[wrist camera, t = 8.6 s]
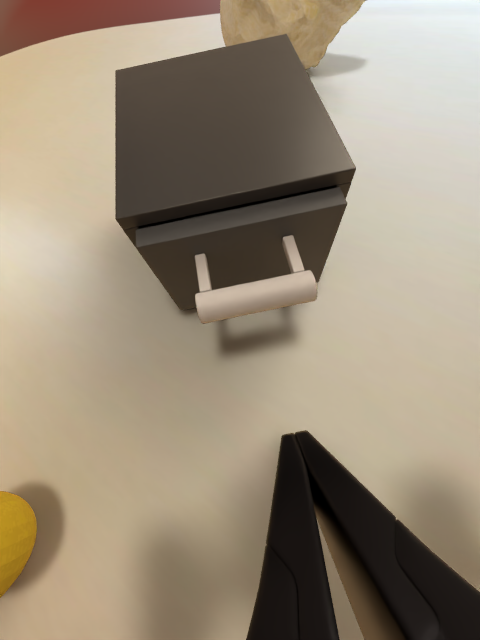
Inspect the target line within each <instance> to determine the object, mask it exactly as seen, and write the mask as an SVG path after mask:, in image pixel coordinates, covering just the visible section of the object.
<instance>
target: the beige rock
mask: <svg viewBox="0 0 480 640" xmlns="http://www.w3.org/2000/svg"><path fill="white" fill-rule="evenodd" d="M365 1H366V0H221V2H220V15H221V16H220V20H221V27H222V35H223V38H224V42H225V45H226V47H227V46H232V45H236V44H241V43H246V42H250V41H255V40H259V39H264V38H269V37H273V36H278V35H283V34H287V35H288V37H289V39H290V41H291V43H292V45H293V47H294V49H295V51H296V53H297V55H298V56H299V58H300V60H301V62H302V64H303V66H304V68H305V70H306V69H309V68H310V67H314V68H315V67H316V66H317V65H318V63H319V61H320V60H321V59H322V58H323V56H324V54H325V52H326V49H327V46H328V45H329V44H330V43H331V42H332V41H333V39H334V37H335V36H336V35H337V33H338V32H339V30H340V28H341V26H342V25H344V24H345V23H346V22H347V21H348V20H349V19H350V18H351V17H352V16H353V15H355V14H356V13H357V11H358V10H359V9H360V7H361V5H362V4H363V3H364V2H365Z"/></svg>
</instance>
